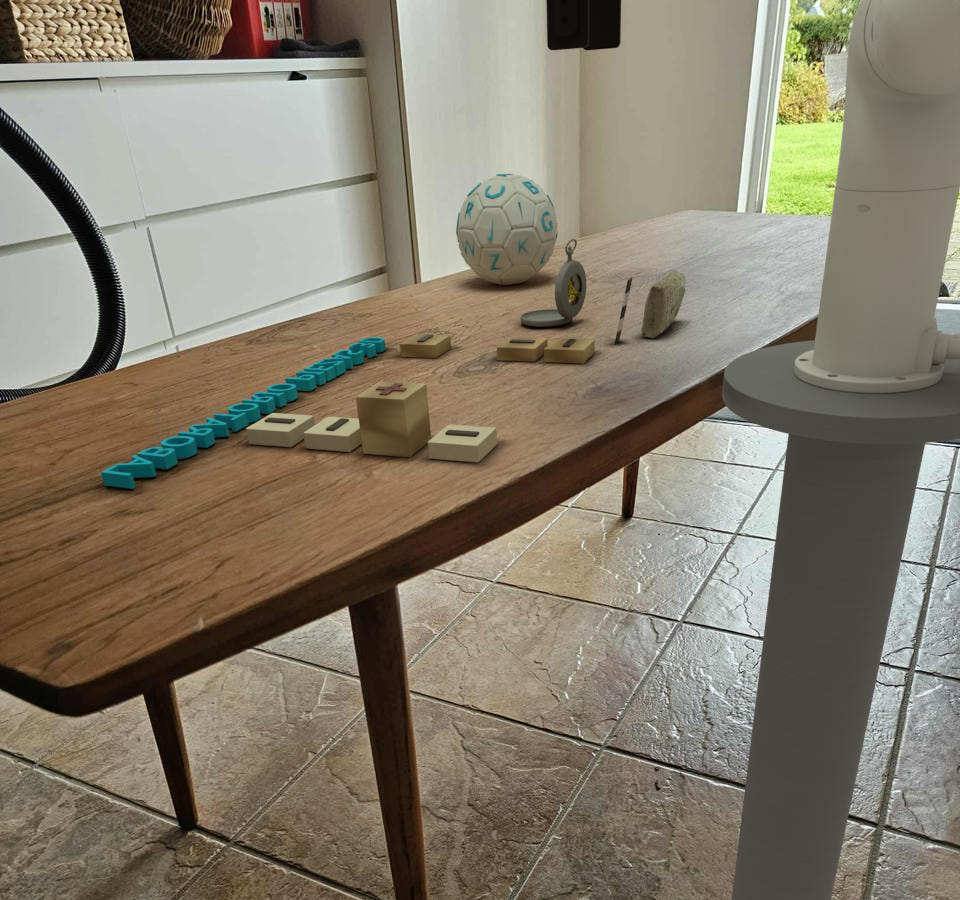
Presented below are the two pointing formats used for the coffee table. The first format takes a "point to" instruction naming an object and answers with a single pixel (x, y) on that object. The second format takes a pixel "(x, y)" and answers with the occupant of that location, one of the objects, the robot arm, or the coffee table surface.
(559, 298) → the pocket watch
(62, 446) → the coffee table surface
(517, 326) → the coffee table surface
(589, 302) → the coffee table surface
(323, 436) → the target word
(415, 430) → the letter block
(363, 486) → the coffee table surface
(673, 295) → the stone and scale-bar
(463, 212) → the puzzle ball
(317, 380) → the text ornament
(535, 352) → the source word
